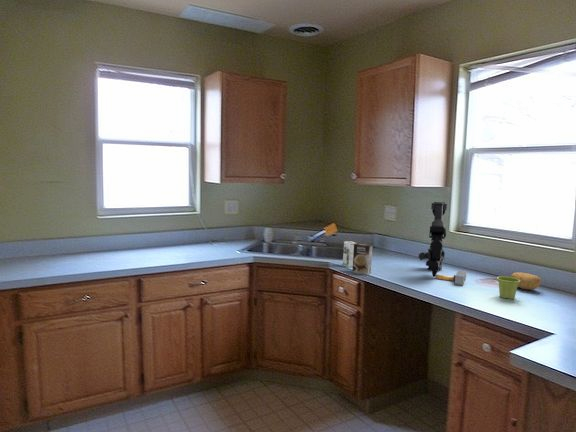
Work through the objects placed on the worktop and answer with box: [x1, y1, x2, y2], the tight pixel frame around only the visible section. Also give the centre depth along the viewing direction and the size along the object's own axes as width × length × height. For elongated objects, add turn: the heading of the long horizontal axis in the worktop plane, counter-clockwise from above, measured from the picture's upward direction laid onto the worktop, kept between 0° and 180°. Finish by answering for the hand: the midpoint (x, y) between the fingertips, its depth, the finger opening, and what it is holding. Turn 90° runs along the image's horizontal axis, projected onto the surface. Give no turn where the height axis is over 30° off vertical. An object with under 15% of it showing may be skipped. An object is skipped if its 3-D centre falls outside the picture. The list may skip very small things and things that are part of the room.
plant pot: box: [496, 276, 520, 300], centre depth 191 cm, size 9×9×9 cm
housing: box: [454, 269, 467, 286], centre depth 215 cm, size 4×14×5 cm, turn 152°
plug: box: [435, 273, 456, 282], centre depth 218 cm, size 13×3×3 cm, turn 62°
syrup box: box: [342, 240, 357, 268], centre depth 243 cm, size 6×6×14 cm
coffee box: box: [352, 242, 373, 276], centre depth 227 cm, size 9×6×16 cm
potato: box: [510, 271, 542, 291], centre depth 205 cm, size 10×14×8 cm
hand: (433, 276), depth 221 cm, fingers closed, pressing on plug
